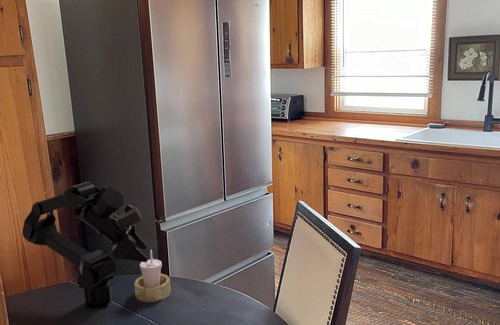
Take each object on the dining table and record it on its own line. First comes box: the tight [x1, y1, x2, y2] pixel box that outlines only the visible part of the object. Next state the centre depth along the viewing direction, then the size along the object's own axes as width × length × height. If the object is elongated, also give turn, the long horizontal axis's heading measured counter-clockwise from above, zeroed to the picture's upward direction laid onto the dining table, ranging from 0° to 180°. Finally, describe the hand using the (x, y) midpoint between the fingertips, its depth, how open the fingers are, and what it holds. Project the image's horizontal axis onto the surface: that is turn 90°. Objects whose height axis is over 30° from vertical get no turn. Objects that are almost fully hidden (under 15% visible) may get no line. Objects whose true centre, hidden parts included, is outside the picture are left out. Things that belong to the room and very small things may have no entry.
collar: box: [134, 273, 171, 303], centre depth 139 cm, size 10×10×4 cm
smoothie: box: [139, 249, 163, 288], centre depth 138 cm, size 6×6×14 cm
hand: (146, 254), depth 134 cm, fingers open, 9 cm apart
